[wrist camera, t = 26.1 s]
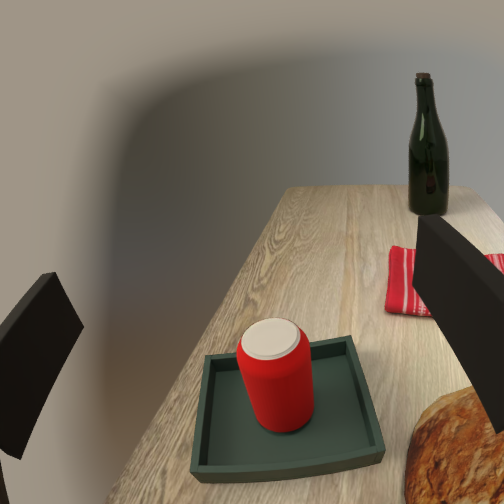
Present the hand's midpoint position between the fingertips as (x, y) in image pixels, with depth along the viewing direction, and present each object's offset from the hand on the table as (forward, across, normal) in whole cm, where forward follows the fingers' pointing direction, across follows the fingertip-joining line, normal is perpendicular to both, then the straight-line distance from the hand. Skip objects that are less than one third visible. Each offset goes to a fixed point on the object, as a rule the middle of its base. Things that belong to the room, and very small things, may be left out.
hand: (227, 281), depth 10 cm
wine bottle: (+56, +40, -25) cm, 73 cm away
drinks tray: (+10, 0, -25) cm, 27 cm away
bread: (-3, +20, -25) cm, 32 cm away
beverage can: (+10, 0, -24) cm, 26 cm away
